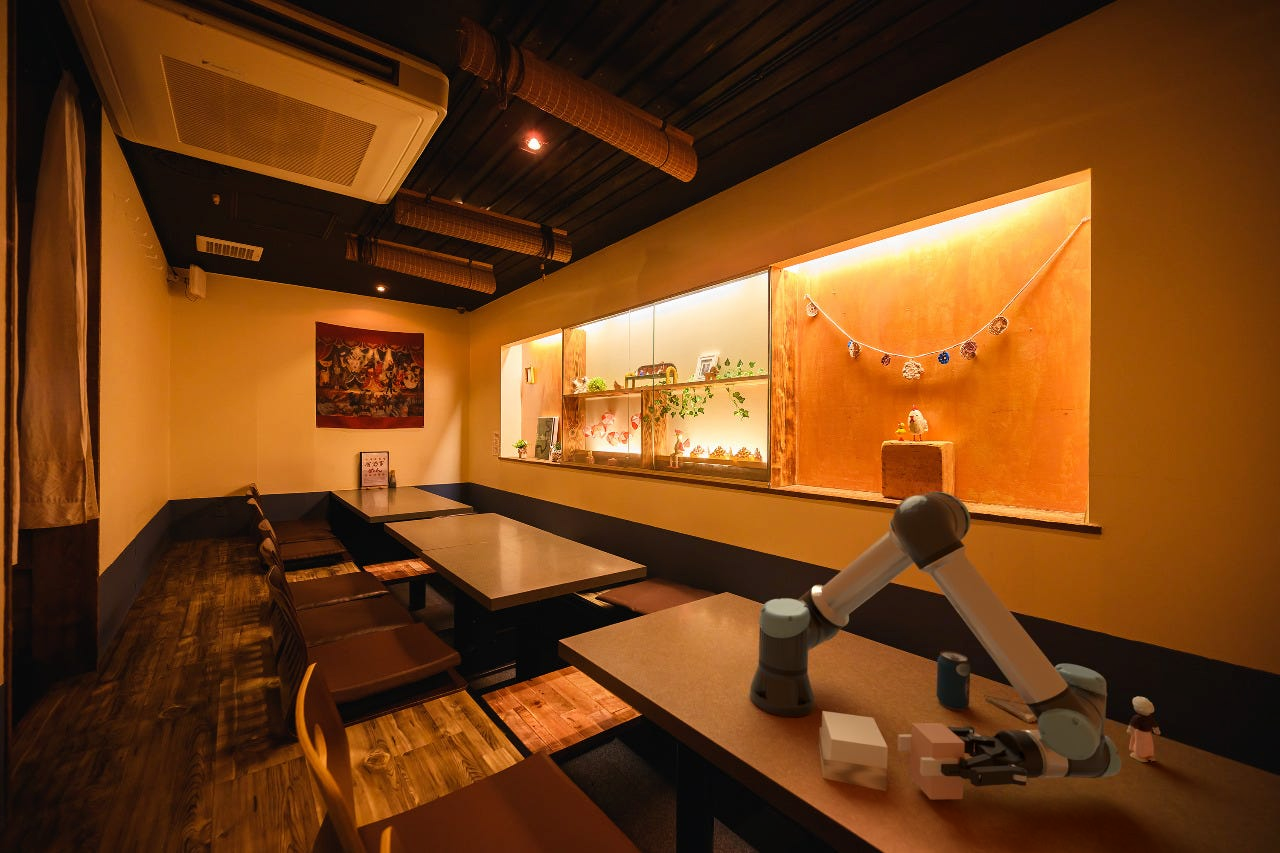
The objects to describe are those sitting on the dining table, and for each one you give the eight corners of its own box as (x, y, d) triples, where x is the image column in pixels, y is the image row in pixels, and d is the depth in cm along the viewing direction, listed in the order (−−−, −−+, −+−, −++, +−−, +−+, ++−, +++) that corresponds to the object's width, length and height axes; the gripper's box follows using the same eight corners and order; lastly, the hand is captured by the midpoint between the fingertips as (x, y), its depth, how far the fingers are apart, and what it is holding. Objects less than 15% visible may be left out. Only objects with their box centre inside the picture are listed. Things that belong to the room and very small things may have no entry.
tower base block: (823, 780, 96) (823, 759, 96) (818, 746, 107) (819, 727, 107) (886, 793, 93) (886, 771, 94) (875, 756, 104) (875, 737, 104)
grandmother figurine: (1140, 749, 109) (1141, 690, 110) (1163, 760, 106) (1165, 699, 106) (1118, 756, 107) (1120, 695, 107) (1141, 767, 103) (1143, 705, 103)
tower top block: (830, 760, 96) (831, 739, 96) (821, 730, 106) (822, 710, 106) (886, 768, 94) (887, 747, 94) (872, 737, 104) (873, 717, 104)
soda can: (974, 713, 121) (975, 663, 122) (942, 709, 123) (944, 659, 123) (961, 698, 128) (963, 651, 128) (932, 695, 130) (933, 648, 130)
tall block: (930, 799, 89) (932, 742, 89) (909, 776, 95) (911, 723, 95) (962, 799, 90) (964, 742, 90) (939, 775, 96) (942, 723, 96)
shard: (983, 700, 129) (983, 693, 129) (1005, 697, 131) (1005, 690, 131) (1027, 725, 118) (1027, 717, 118) (1050, 720, 120) (1050, 713, 120)
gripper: (1075, 812, 85) (944, 814, 83) (988, 741, 103) (880, 742, 102) (1077, 767, 85) (946, 768, 83) (989, 705, 104) (881, 705, 102)
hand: (910, 754), depth 92 cm, fingers closed on tall block, 6 cm apart
